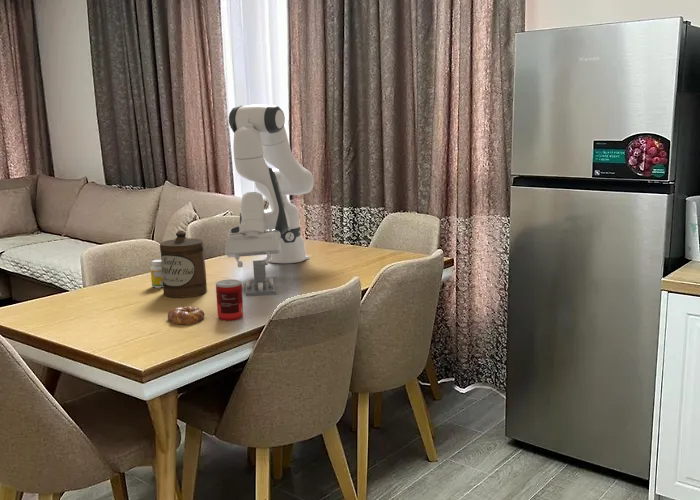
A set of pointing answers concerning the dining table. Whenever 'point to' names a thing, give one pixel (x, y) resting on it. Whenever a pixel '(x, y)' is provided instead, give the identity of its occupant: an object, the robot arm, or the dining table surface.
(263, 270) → the block
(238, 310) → the canned food
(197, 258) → the wooden container
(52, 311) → the dining table surface
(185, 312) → the pretzel
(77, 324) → the dining table surface
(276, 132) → the robot arm
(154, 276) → the supplement bottle
